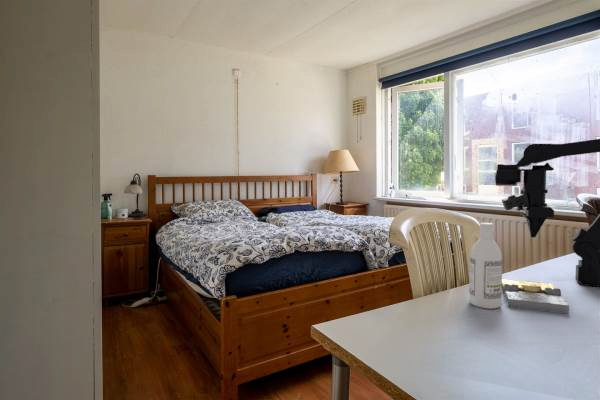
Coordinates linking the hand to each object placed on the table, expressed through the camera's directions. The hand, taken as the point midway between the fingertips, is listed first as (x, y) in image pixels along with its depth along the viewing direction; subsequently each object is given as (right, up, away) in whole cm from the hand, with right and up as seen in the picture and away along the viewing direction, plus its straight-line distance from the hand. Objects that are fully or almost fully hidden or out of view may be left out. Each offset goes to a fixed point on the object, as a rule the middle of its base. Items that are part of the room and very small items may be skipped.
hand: (532, 237), depth 111 cm
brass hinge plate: (-11, -13, -15) cm, 23 cm away
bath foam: (-26, -14, -22) cm, 37 cm away
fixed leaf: (-14, -14, -22) cm, 29 cm away
